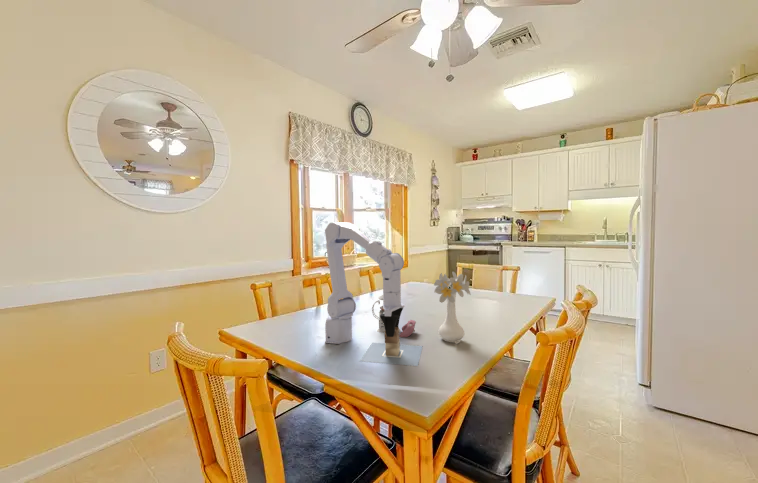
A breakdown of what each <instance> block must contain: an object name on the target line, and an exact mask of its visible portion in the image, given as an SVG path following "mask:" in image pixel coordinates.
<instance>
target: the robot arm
mask: <svg viewBox="0 0 758 483" xmlns="http://www.w3.org/2000/svg"><path fill="white" fill-rule="evenodd" d="M324 234H325V240H326V242H325V243H326V244H325V245H326V253H327V260H328V268H329V275H330V282H331V289H332V292H331V294H330V295H329V296H328V298H327V314H328V316H327V318H326V320H325V327H324V329H325V330H324V331H325V332H324V333H325V341H324V344H334V345H341V344H342V343H346V342H350V341H352V340H353V323H352V322H353V320H352V319H353V318H352V317H353V316H354V313H355V312H356V309H357V305H356V304H357V303H356V301H355V299H354V296H353V293H352V292H351V291H350V290H348V286H347V285H348V284H347V279H346V272H345V265H344V258H343V252H342V249H343V247H344V246H345V245H346V244H347V243H348V242H350V241H353V242H354V243H356V244H357V245H359V246H360V247H362V249H364V250H365V253H366V256H368V257H369V258H370V259H371V260H373V261H374V262H375V263H376V264H377V265H378V268H379V269H380V272H381V276H382V295H383V300H382V301H383V303H382V306H383V308H384V314H382V313H381V315H380V318H381V320H382V321H383V324H384V327H385V331H386V335H387V337H393V336H394V332H395V327H399V323H400V319H401V314H402V311H403V310H404V308H405V305H406V304H404V303H402V297H401V296H402V292H401V291H402V286H401V282H402V281H401V270H402V269H403V267H404V265H405V261H404V258H403V256H402V255H401V254H400V253H398V252H394V253H393V251H392V250H391V249H388V248H387V247H385V246H384V245H382V244H383V243H382V242H381V241H379V240H378V241H377V240H373V241H372V240H371V239H370V238H369V237H367V236H366V235H365V234H364V233H363V232H362V231H360V230H359V229H358V227H357V225H355V224H353V223H352V222H335V221H334V222H329V223H328V224H327V226H326V228H325V229H324Z"/></svg>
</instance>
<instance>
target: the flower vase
mask: <svg viewBox="0 0 758 483" xmlns="http://www.w3.org/2000/svg"><path fill="white" fill-rule="evenodd" d="M452 276H453V277H450V278H449V277H448V275H447V274H446V273H444V274H443V273H442V272H441V273H440V274H439V279H435V282H434V283H433V286H435V289H434V293H435V294H437V295H440V296H439V303H442V304H443V303H445V301H446V315H445V320H443V321H444V322H442V324H441V325H440V326H439V327H438V330H437V332H438V335H439V337H440V338H441V339H442V340H443V341H445V342H447V343H455V345H459V344H460V343H461V340H462V339H463V338H464V337H465V329H464V327H463V326H462V325H461V324H460V323H459V321H458V319H457V313H456V297H457V294H458V296H459V297H461V298H463V297H464V292H463V291H465V293H466V294H467V295H470V296H471V295H472V294H471V291H470V281H469V280H468V281H467V275H466V274H465V275H464V274H462V273H460V274H458V275H457V274H456V272H455V271H452ZM464 276H465V277H464Z"/></svg>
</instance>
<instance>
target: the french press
mask: <svg viewBox="0 0 758 483" xmlns="http://www.w3.org/2000/svg"><path fill="white" fill-rule="evenodd" d="M378 299H379V300H378ZM378 299H377V300H376V301H375V302H374V303H373V305H372V308H371V312H372V315H373V317H374V318H375V319H377V320H378V329H377V331H376V332H377V333H385V327H384V324H383V321H382V320H381V318H380V315H381V313H382V314H384V308H383V305H382V306H380V307H379V309H380V310H379V312H378V313H379V316H377V315H376V313H375V311H374V307H375V304H376V303H378V305H380V304H381V303H380V302H381V301H383V294H381V295H380V296H378ZM401 332H402V329H400V328H399V334H400V333H401Z"/></svg>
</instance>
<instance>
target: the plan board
mask: <svg viewBox="0 0 758 483" xmlns="http://www.w3.org/2000/svg"><path fill="white" fill-rule="evenodd" d="M423 347H424V346H423V345H412V344H400V352H399V355H398V356H390V355H386V350H385V342H384V343H382V342H371V343H370V345H369V346H368V348H367V349H366V351H365V352H364V354H363V355H362V357H361V358H360V359H359V362H361V363H362V362H365V363H374V364H375V363H376V364H377V363H378V364H386V365H400V366H401V365H402V366H410V367H411V366H413V367H418V366H419V363H420V359H421V354H422V350H423Z"/></svg>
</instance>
